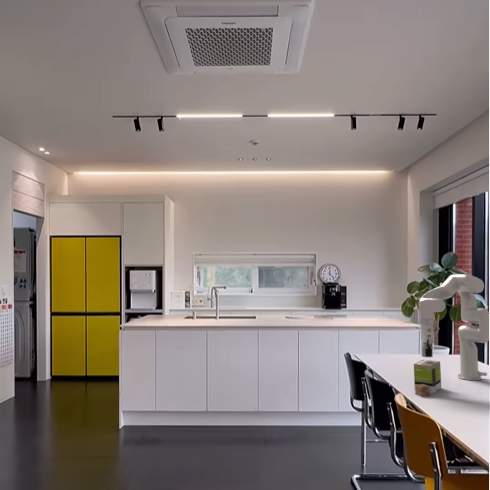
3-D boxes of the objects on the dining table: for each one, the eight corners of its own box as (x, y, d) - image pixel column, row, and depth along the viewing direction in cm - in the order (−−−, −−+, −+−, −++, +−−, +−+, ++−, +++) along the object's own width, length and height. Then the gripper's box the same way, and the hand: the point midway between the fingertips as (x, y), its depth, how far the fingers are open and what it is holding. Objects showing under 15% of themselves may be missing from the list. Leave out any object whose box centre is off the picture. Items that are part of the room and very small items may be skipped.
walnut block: (423, 393, 243) (423, 384, 243) (429, 396, 238) (429, 386, 238) (415, 394, 241) (415, 384, 242) (421, 396, 237) (420, 386, 237)
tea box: (423, 385, 260) (422, 358, 261) (441, 388, 253) (441, 361, 254) (414, 390, 248) (413, 363, 249) (433, 393, 242) (432, 365, 243)
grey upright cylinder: (431, 355, 254) (430, 342, 255) (433, 357, 249) (433, 344, 249) (420, 355, 255) (420, 342, 255) (423, 357, 249) (422, 344, 250)
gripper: (438, 323, 244) (439, 358, 243) (429, 320, 261) (429, 352, 260) (423, 323, 245) (424, 357, 244) (415, 320, 262) (416, 352, 261)
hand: (427, 354), depth 252 cm, fingers closed on grey upright cylinder, 5 cm apart
